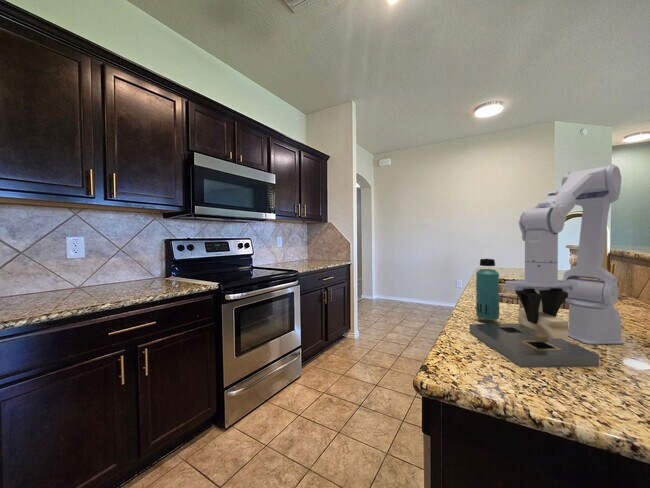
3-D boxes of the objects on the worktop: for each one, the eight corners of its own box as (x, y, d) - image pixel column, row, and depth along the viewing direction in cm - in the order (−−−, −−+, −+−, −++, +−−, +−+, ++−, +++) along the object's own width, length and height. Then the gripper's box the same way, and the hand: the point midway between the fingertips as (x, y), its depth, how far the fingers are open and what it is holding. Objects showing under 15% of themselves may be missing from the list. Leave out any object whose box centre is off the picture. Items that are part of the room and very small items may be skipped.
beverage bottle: (499, 320, 86) (499, 258, 85) (499, 326, 80) (499, 259, 80) (476, 317, 89) (476, 257, 89) (475, 323, 84) (474, 259, 83)
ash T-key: (567, 349, 55) (568, 321, 55) (552, 350, 55) (553, 321, 55) (530, 332, 65) (531, 307, 65) (518, 332, 65) (518, 308, 65)
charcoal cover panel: (526, 332, 75) (527, 323, 75) (598, 366, 55) (598, 354, 55) (469, 333, 75) (469, 323, 75) (520, 367, 55) (520, 355, 55)
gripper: (558, 259, 64) (557, 316, 64) (496, 260, 64) (496, 317, 64) (587, 262, 57) (586, 326, 57) (517, 263, 57) (517, 327, 57)
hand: (540, 322), depth 60 cm, fingers closed on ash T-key, 3 cm apart
